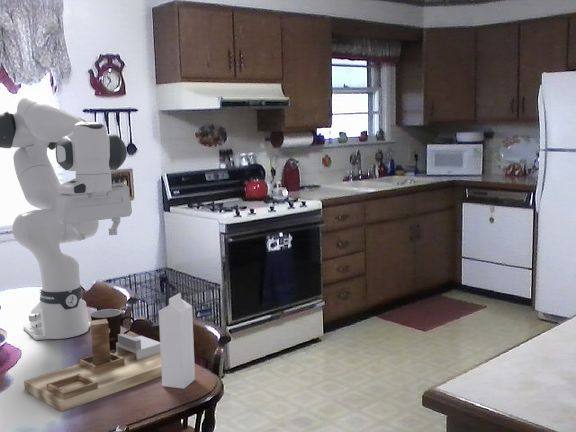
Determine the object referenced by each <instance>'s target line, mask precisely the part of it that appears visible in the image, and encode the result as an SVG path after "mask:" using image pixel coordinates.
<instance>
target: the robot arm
mask: <svg viewBox="0 0 576 432" xmlns="http://www.w3.org/2000/svg"><path fill="white" fill-rule="evenodd" d="M0 148H2V149H11V148H17V149H16V150H15V152H14V154H13V157H12V158H13V165H14V170H15V175H16V178H17V180H18V183H19V185H20V187H21V190H22V193H23V196H24V198H25V201H26V202H27V203H28V204H29V205H30V206H33V207H34V208H36V209H33V210H29V211H27V212H23V213H21V214H18V215H17V216H16V217H15V219H14V221H13V224H12V234H13V238H14V239H15V241H16V242H17V243H18V244H19V245H20V246H22V247H24V248H25V249H27V250H28V251H29V252H31V253H32V255H33V256H34V258H35V259H36V261H37V263H38V266H39V271H40V278H41V287H42V288H41V289H39V291H40V292H39V302H38V303H36V305H35V306H34V307H33V308H32V309H31V312H30V314H29V315H28V321H29V323H27V324H25V325H24V326H23V330H24V331H25V332H26V333H28V335H30V337H32V338H33V339H34V341H35V340H36V341H39V340H62V339H68V338H74V337H78V336H80V335H83V334H85V333H87V332H88V331H90V330H89V329H90V328H91V323H90V321H89V314H88V307H87V302H86V301H85V300H84V299H82V298H83V288H82V285H81V278H80V277H81V276H80V264H79V262H78V260H77V259H75V257H73V256H71V255H68V254H66V253H63V252H62V250H61V248H60V246H61V244H67V243H68V244H69V243H72V242H74V243H75V242H80V241H83V240H86V239H90V238H92V237H94V236H95V235H96V233H97V231H98V229H99V223H100V222H99V221H102V220H103V221H104V220H111V222H112V224H111V227H110V228H108V235H109V236H116V235H118V227H119V225H120V224H121V218H127V217H128V218H129V217H130V216H131V215H132V213H133V207H132V202H131V196H130V194H131V193H130V187H129V185H127V184H126V183H125V182H113V183H112V171H117V170H118V169H119V168H120V167H122V165H123V164H124V163H125V161H126V159H127V155H128V154H127V153H128V152H127V147H126V144H125V142H124V141H123V140H122V138H121V137H120V136H119V135H117V134H116V133H108V132H107V128H106V125H105V124H103V123H101V122H96V121H95V122H94V121H87V120H85V119H82V118H81V117H78V116H76V115H74V114H72V113H70V112H68V111H66V110H65V109H63V108H61V107H60V106H58V105H56V104H55V103H54V102H53V101H51V100H50V99H48V98H47V97H45V96H42V95H39V94H35V93H31V94H27V95H25V96H23V97H22V98H20V99H19V102H18V103H17V106H16V111H15V112H10V111H5V112H3V113H1V114H0ZM48 149H49V150H50V151H53V150H55V159H56V162H57V164H58V165H59V166H60V167H61V168H63V170H65V171H69V172H75V177H74V178H73V179H71V180H69V181H66V182H64V183H62V184H61V182H60V180H59V179H58V175H57V173H56V172H55V169H54V167H53V164H52V163H51V161H50V159H49V156H48Z"/></svg>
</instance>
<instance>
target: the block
mask: <svg viewBox="0 0 576 432" xmlns="http://www.w3.org/2000/svg"><path fill="white" fill-rule="evenodd" d="M89 322H90V323H91V327H90V335H91V353H92V355H93V364H94V365H95V366H98V365H101V364H104V363H107V362H110V353H111V350H110V345H109V328H108V321H107V319H101V320H93V321H91V320H90V321H89ZM92 355H91V356H92Z"/></svg>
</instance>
